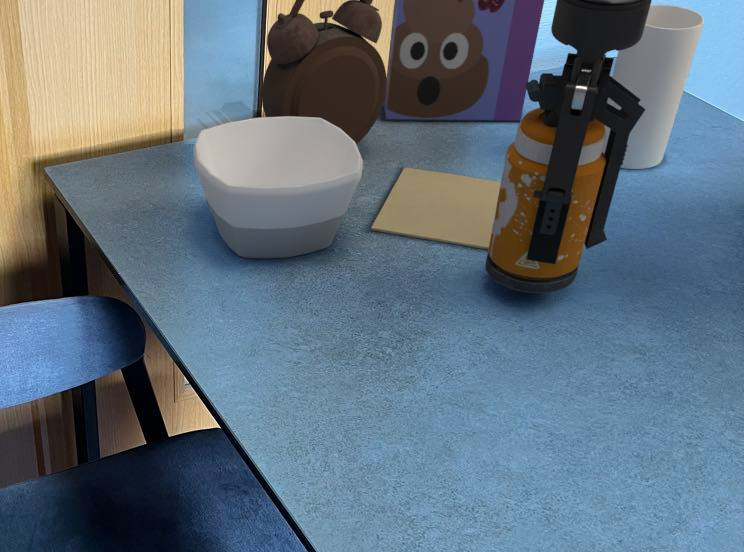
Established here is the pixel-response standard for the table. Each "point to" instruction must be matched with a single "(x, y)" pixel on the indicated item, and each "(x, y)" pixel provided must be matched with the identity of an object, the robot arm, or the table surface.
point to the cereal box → (460, 59)
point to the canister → (529, 174)
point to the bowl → (277, 183)
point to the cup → (657, 79)
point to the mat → (440, 208)
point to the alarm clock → (327, 68)
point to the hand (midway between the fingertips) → (548, 236)
